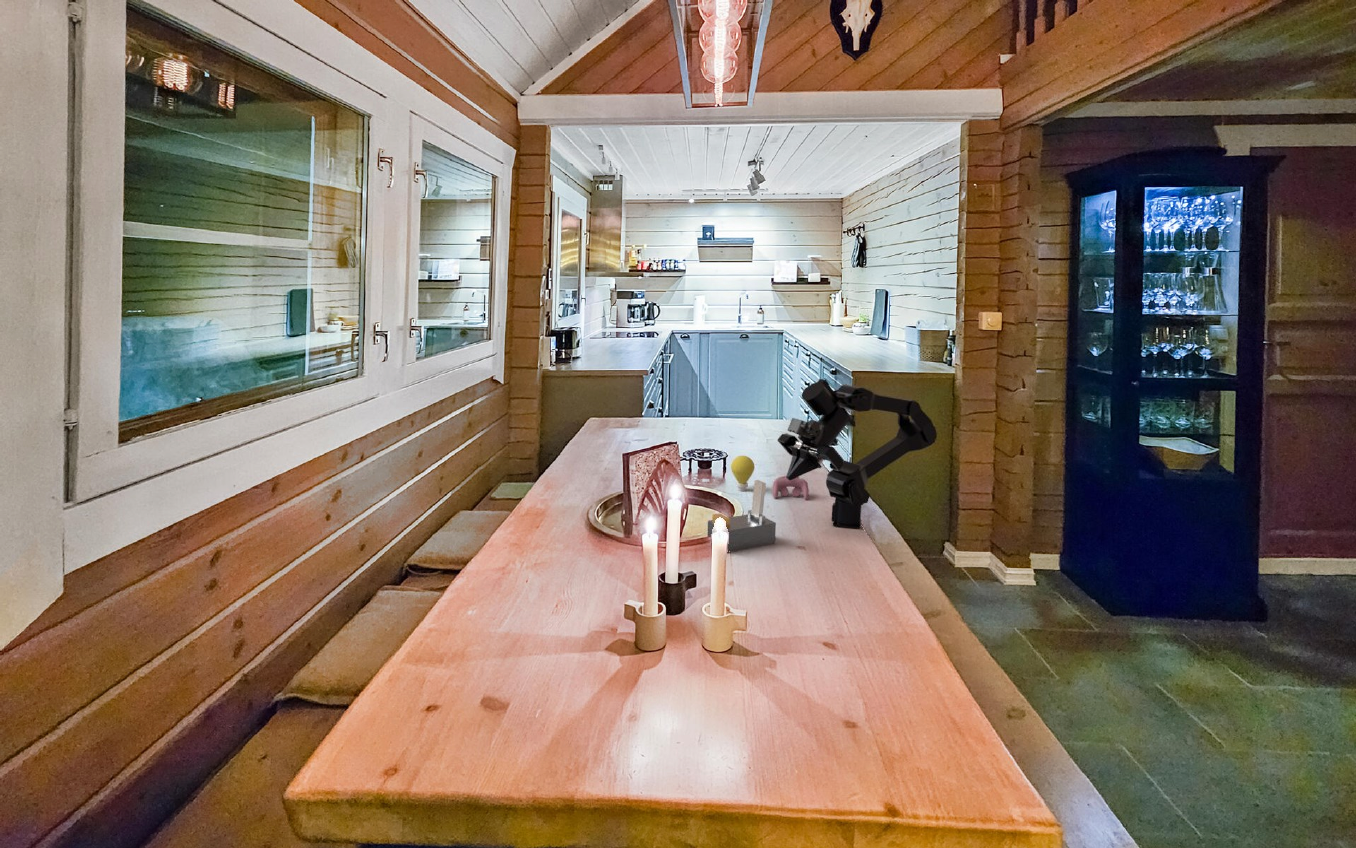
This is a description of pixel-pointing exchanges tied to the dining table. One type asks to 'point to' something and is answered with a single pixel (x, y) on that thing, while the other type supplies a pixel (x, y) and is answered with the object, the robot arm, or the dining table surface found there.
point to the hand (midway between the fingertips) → (787, 479)
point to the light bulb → (742, 471)
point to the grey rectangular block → (746, 531)
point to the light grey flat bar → (758, 499)
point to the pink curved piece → (783, 482)
